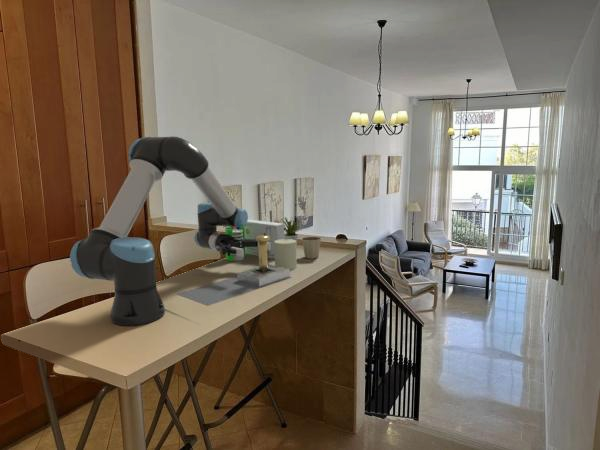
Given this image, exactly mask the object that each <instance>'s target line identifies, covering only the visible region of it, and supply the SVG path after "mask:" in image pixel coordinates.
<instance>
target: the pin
mask: <svg viewBox="0 0 600 450" xmlns="http://www.w3.org/2000/svg"><path fill="white" fill-rule="evenodd" d="M255 239H256V241H258V246H259V256H258V267H259V271H260V272H262V273H265V272H268V264H269V262H268V259H269V258H268V256H267V241H268V240H270V237H269V236H267V235H261V236H256V237H255Z"/></svg>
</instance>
